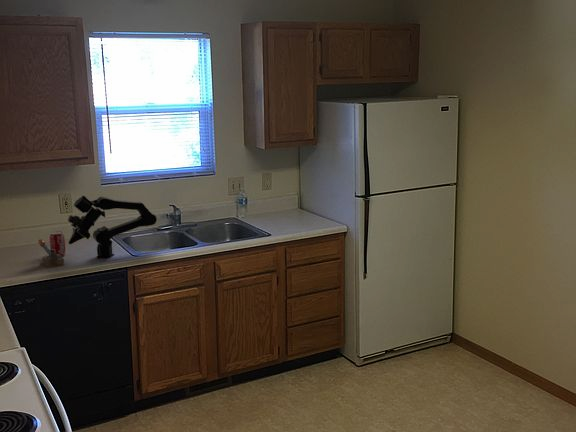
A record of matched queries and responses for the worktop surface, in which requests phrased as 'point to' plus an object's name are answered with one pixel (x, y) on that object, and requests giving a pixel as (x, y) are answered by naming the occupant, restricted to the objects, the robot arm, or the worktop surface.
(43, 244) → the copper roller
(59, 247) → the soda can
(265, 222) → the worktop surface
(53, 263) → the switch block
